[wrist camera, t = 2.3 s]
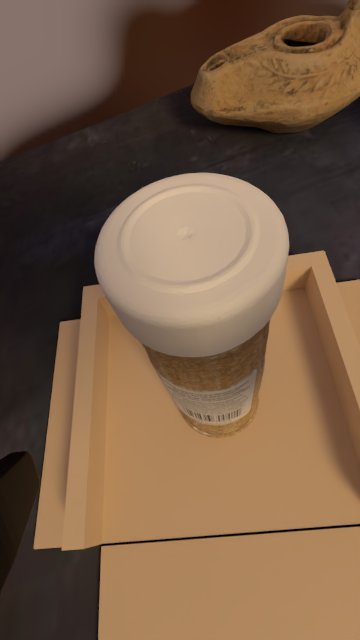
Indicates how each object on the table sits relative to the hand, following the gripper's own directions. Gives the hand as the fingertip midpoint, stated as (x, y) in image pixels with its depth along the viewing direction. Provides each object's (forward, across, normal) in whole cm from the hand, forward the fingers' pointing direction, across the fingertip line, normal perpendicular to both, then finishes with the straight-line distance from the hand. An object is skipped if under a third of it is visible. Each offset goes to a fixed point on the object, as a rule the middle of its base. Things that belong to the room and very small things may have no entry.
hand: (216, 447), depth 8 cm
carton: (+9, 0, +7) cm, 11 cm away
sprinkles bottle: (+11, 0, +5) cm, 12 cm away
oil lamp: (+29, -9, -13) cm, 33 cm away
